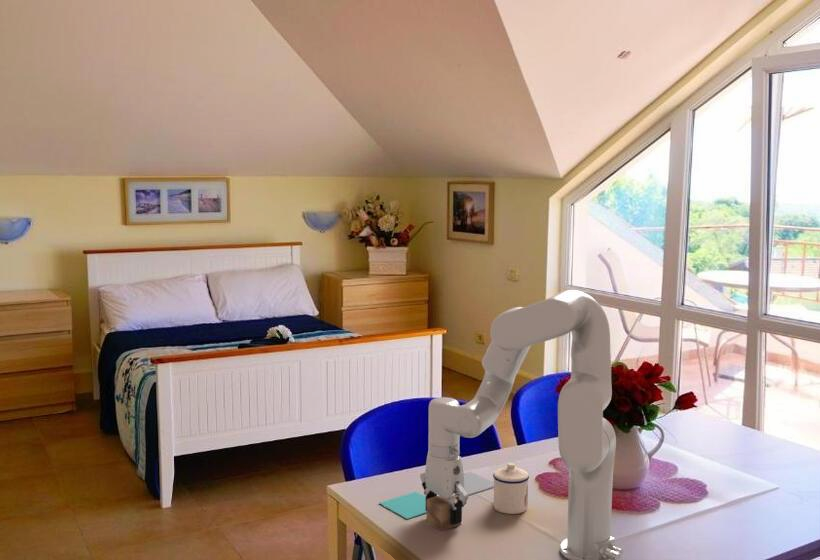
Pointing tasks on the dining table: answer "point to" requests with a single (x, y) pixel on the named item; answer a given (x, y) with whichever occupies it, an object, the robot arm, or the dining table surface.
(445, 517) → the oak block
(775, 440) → the dining table surface
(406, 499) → the teal mat
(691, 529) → the dining table surface
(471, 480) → the grey mat
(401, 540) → the dining table surface
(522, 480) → the teacup with lid
